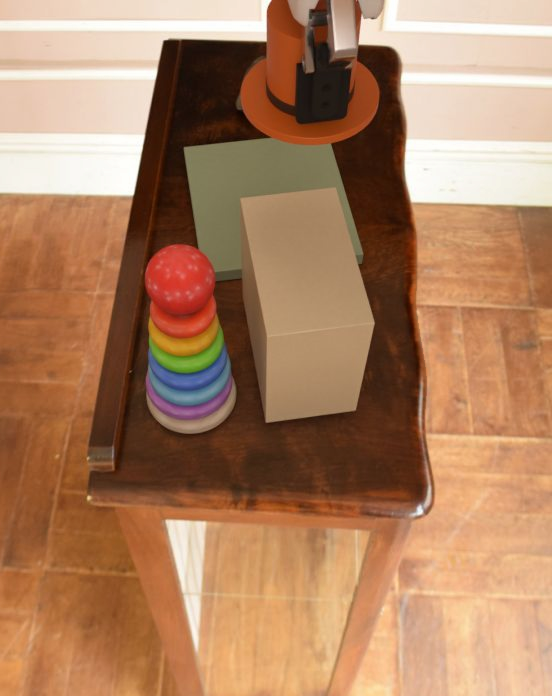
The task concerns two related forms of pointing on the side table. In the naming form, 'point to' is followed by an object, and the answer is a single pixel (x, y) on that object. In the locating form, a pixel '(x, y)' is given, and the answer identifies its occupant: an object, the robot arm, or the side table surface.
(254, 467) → the side table surface
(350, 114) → the hat
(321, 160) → the stand board
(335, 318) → the tall cardboard box
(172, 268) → the stacking toy
